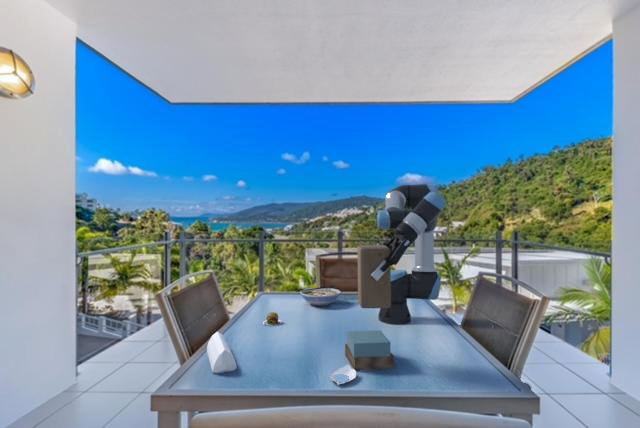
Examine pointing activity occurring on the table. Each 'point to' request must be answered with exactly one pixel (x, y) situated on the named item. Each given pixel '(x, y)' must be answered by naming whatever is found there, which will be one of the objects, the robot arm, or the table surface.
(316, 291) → the ramen bowl
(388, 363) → the tower base
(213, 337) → the crystal
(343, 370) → the pale veined leaf
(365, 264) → the wooden block
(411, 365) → the table surface
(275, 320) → the hamburger
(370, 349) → the grey teal block
